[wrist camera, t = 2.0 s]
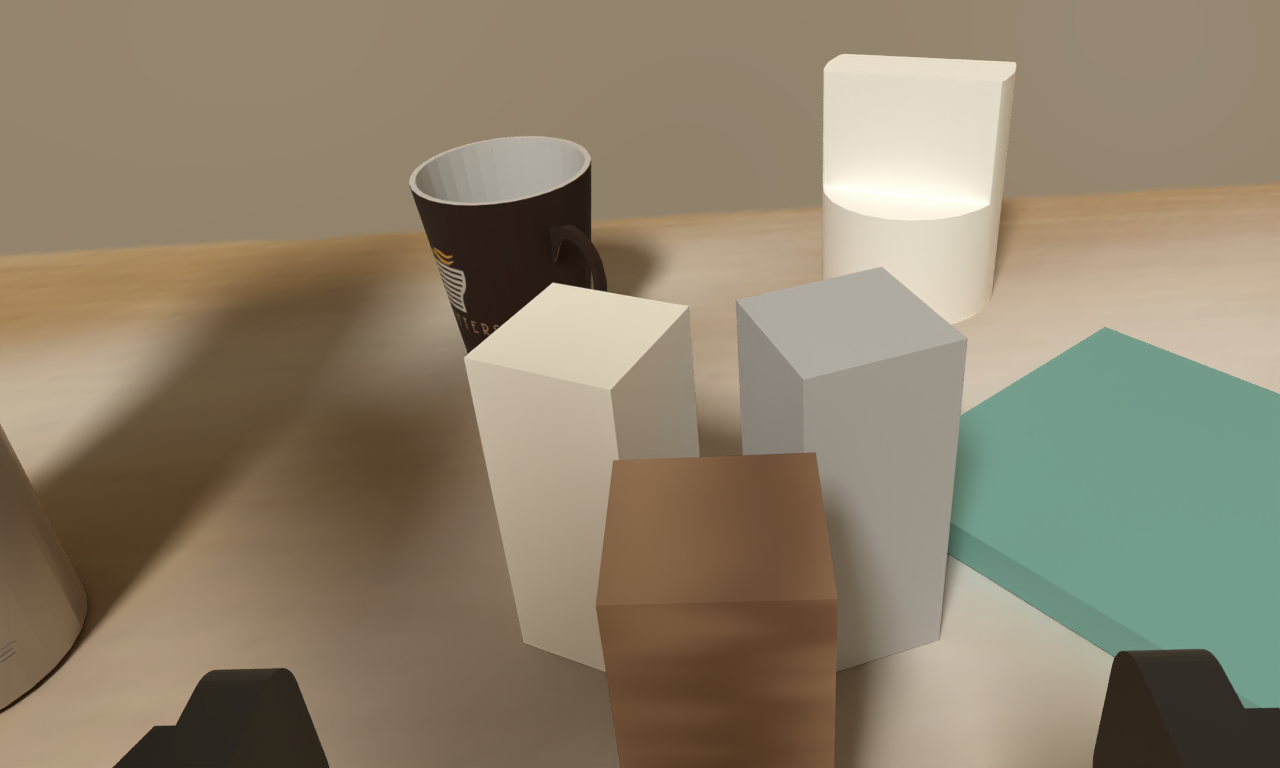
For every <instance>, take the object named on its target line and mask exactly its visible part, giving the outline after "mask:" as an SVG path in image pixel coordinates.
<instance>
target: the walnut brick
mask: <svg viewBox="0 0 1280 768" xmlns="http://www.w3.org/2000/svg"><path fill="white" fill-rule="evenodd" d="M837 605H838V598H837V592H836V585H835V578H834V571H833V565H832V558H831V551H830V544H829V538H828V531H827V524H826V517H825V511H824V504H823V497H822V490H821V484H820V477H819V470H818V463H817V457H816V452H811V453H786V454H761V455H736V456H711V457H686V458H661V459H636V460H613V465H612V473H611V482H610V490H609V498H608V507H607V515H606V523H605V532H604V540H603V548H602V557H601V565H600V573H599V581H598V590H597V598H596V612H597V618H598V625H599V631H600V637H601V644H602V650H603V657H604V663H605V670H606V676H607V683H608V689H609V696H610V702H611V709H612V715H613V721H614V728H615V734H616V741H617V747H618V754H619V760H620V767H621V768H834V765H835V712H836V659H837Z"/></svg>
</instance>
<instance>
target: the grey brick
mask: <svg viewBox="0 0 1280 768" xmlns="http://www.w3.org/2000/svg"><path fill="white" fill-rule="evenodd" d="M736 316H737V339H738V362H739V384H740V407H741V430H742V452H743V455H761V454H786V453H811V452H816V457H817V463H818V470H819V477H820V484H821V490H822V497H823V504H824V511H825V517H826V524H827V531H828V538H829V544H830V551H831V558H832V565H833V571H834V578H835V585H836V592H837V598H838V605H837V659H836V672H838V671H841V670H844V669H848V668H851V667H854V666H857V665H860V664H864V663H867V662H870V661H873V660H877V659H880V658H883V657H886V656H889V655H893V654H896V653H899V652H902V651H905V650H909V649H912V648H915V647H918V646H921V645H925V644H928V643H931V642H934V641H938V640H939V636H940V625H941V615H942V604H943V594H944V583H945V572H946V562H947V551H948V540H949V530H950V519H951V509H952V498H953V487H954V477H955V466H956V456H957V445H958V434H959V424H960V413H961V402H962V392H963V381H964V371H965V360H966V349H967V338H966V337H965V336H964V335H962V334H961V333H960V332H959V331H958V330H956V329H955V328H954V327H953V326H952V325H950V324H949V323H948V322H947V321H946V320H945V319H943V318H942V317H941V316H940V315H939V314H937V313H936V312H935V311H934V310H933V309H931V308H930V307H929V306H928V305H927V304H926V303H924V302H923V301H922V300H921V299H920V298H918V297H917V296H916V295H915V294H914V293H913V292H911V291H910V290H909V289H908V288H907V287H905V286H904V285H903V284H902V283H901V282H899V281H898V280H897V279H896V278H895V277H894V276H892V275H891V274H890V273H889V272H888V271H886V270H885V269H884V268H883V267H878V268H874V269H869V270H865V271H861V272H856V273H852V274H848V275H843V276H839V277H834V278H830V279H826V280H821V281H817V282H813V283H808V284H804V285H799V286H795V287H791V288H786V289H782V290H778V291H773V292H769V293H764V294H760V295H756V296H751V297H747V298H743V299H738V300H736Z"/></svg>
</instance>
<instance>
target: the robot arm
mask: <svg viewBox="0 0 1280 768" xmlns="http://www.w3.org/2000/svg"><path fill="white" fill-rule="evenodd" d="M86 614H87V595H86V593H85V591H84V588H83V586H82V584H81V582H80V580H79V578H78V576H77V574H76V572H75V570H74V568H73V566H72V564H71V562H70V560H69V558H68V556H67V554H66V552H65V550H64V548H63V546H62V544H61V542H60V540H59V539H58V537H57V535H56V533H55V531H54V529H53V527H52V525H51V523H50V521H49V519H48V517H47V514H46V512H45V510H44V508H43V506H42V504H41V502H40V500H39V498H38V496H37V494H36V492H35V490H34V489H33V487H32V485H31V483H30V481H29V479H28V477H27V475H26V473H25V471H24V469H23V467H22V465H21V463H20V461H19V459H18V457H17V455H16V453H15V452H14V450H13V448H12V446H11V444H10V442H9V440H8V438H7V436H6V434H5V432H4V430H3V428H2V426H1V424H0V710H1V709H2V708H4V707H6V706H7V705H9V704H10V703H12V702H13V701H14V700H16V699H17V698H19V697H20V696H21V695H23V694H24V693H26V692H27V691H28V690H30V689H31V688H33V687H34V686H35V685H36V684H37V683H38V682H39V681H40V680H41V679H43V678H44V677H45V676H46V675H47V674H48V673H49V672H50V671H51V670H52V669H54V668H55V666H56V665H57V664H58V663H59V662H60V660H61V659H62V658H63V657H64V656H65V654H66V653H67V652H68V651H69V650H70V648H71V647H72V645H73V643H74V642H75V640H76V638H77V637H78V635H79V633H80V631H81V630H82V627H83V624H84V620H85V617H86ZM113 768H329V765H328V761H327V759H326V756H325V753H324V751H323V748H322V746H321V743H320V740H319V738H318V735H317V733H316V730H315V727H314V725H313V722H312V720H311V717H310V715H309V712H308V709H307V707H306V704H305V702H304V699H303V696H302V694H301V691H300V689H299V686H298V683H297V681H296V679H295V677H294V675H293V674H292V673H291V672H290V671H289V670H288V669H285V668H273V669H232V670H212V671H210V672H208V673H207V674H206V675H204V676H203V678H202V679H201V680H200V681H199V683H198V684H197V686H196V688H195V690H194V691H193V693H192V695H191V697H190V699H189V701H188V703H187V705H186V707H185V709H184V710H183V712H182V714H181V716H180V718H179V720H178V722H177V724H176V726H154V727H153V728H152V729H151V730H150V731H149V732H148V733H147V734H146V735H145V736H144V737H143V738H142V739H141V740H140V741H139V742H138V743H137V744H136V745H135V746H134V747H133V748H132V749H131V750H130V751H129V752H128V753H127V754H126V755H125V756H124V757H123V758H122V759H121V760H120V761H119V762H118V763H117V764H116V765H115V766H114V767H113ZM1093 768H1280V708H1244V706H1243V705H1242V703H1241V701H1240V699H1239V697H1238V695H1237V693H1236V692H1235V690H1234V688H1233V686H1232V684H1231V682H1230V681H1229V679H1228V677H1227V675H1226V673H1225V671H1224V670H1223V668H1222V666H1221V664H1220V663H1219V661H1218V660H1217V659H1216V657H1215V656H1214V655H1213V654H1212V653H1211V652H1209V651H1208V650H1206V649H1172V650H1130V651H1120V652H1118V653H1117V655H1116V656H1115V658H1114V661H1113V664H1112V669H1111V673H1110V678H1109V683H1108V688H1107V692H1106V697H1105V702H1104V707H1103V711H1102V716H1101V721H1100V726H1099V730H1098V735H1097V740H1096V745H1095V749H1094V755H1093Z"/></svg>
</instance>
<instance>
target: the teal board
mask: <svg viewBox="0 0 1280 768" xmlns="http://www.w3.org/2000/svg"><path fill="white" fill-rule="evenodd" d="M947 553H949V554H950V555H952V556H953V557H955V558H957V559H958V560H960V561H961V562H963V563H965V564H966V565H968V566H970V567H971V568H973V569H974V570H976V571H978V572H979V573H981V574H982V575H984V576H986V577H987V578H989V579H990V580H992V581H994V582H995V583H997V584H998V585H1000V586H1002V587H1003V588H1005V589H1006V590H1008V591H1010V592H1011V593H1013V594H1015V595H1016V596H1018V597H1019V598H1021V599H1023V600H1024V601H1026V602H1027V603H1029V604H1031V605H1032V606H1034V607H1035V608H1037V609H1039V610H1040V611H1042V612H1043V613H1045V614H1047V615H1048V616H1050V617H1051V618H1053V619H1055V620H1056V621H1058V622H1059V623H1061V624H1063V625H1064V626H1066V627H1068V628H1069V629H1071V630H1072V631H1074V632H1076V633H1077V634H1079V635H1080V636H1082V637H1084V638H1085V639H1087V640H1088V641H1090V642H1092V643H1093V644H1095V645H1096V646H1098V647H1100V648H1101V649H1103V650H1104V651H1106V652H1108V653H1109V654H1111V655H1113V656H1114V657H1115V656H1116V655H1117V653H1118V652H1120V651H1130V650H1172V649H1206V650H1208V651H1209V652H1211V653H1212V654H1213V655H1214V656H1215V657H1216V659H1217V660H1218V661H1219V663H1220V664H1221V666H1222V668H1223V670H1224V671H1225V673H1226V675H1227V677H1228V679H1229V681H1230V682H1231V684H1232V686H1233V688H1234V690H1235V692H1236V693H1237V695H1238V697H1239V699H1240V701H1241V703H1242V705H1243V706H1244V708H1280V394H1278V393H1275V392H1273V391H1270V390H1267V389H1265V388H1262V387H1260V386H1257V385H1254V384H1252V383H1249V382H1247V381H1244V380H1241V379H1239V378H1236V377H1234V376H1231V375H1228V374H1226V373H1223V372H1221V371H1218V370H1215V369H1213V368H1210V367H1208V366H1205V365H1202V364H1200V363H1197V362H1195V361H1192V360H1189V359H1187V358H1184V357H1182V356H1179V355H1176V354H1174V353H1171V352H1169V351H1166V350H1163V349H1161V348H1158V347H1156V346H1153V345H1150V344H1148V343H1145V342H1143V341H1140V340H1137V339H1135V338H1132V337H1130V336H1127V335H1124V334H1122V333H1119V332H1117V331H1114V330H1111V329H1109V328H1106V327H1104V328H1103V329H1101V330H1099V331H1098V332H1096V333H1094V334H1093V335H1091V336H1090V337H1088V338H1086V339H1085V340H1083V341H1081V342H1080V343H1078V344H1077V345H1075V346H1073V347H1072V348H1070V349H1068V350H1067V351H1065V352H1064V353H1062V354H1060V355H1059V356H1057V357H1055V358H1054V359H1052V360H1050V361H1049V362H1047V363H1046V364H1044V365H1042V366H1041V367H1039V368H1037V369H1036V370H1034V371H1033V372H1031V373H1029V374H1028V375H1026V376H1024V377H1023V378H1021V379H1020V380H1018V381H1016V382H1015V383H1013V384H1011V385H1010V386H1008V387H1006V388H1005V389H1003V390H1002V391H1000V392H998V393H997V394H995V395H993V396H992V397H990V398H989V399H987V400H985V401H984V402H982V403H980V404H979V405H977V406H976V407H974V408H972V409H971V410H969V411H967V412H966V413H964V414H962V415H961V416H960V424H959V434H958V445H957V456H956V466H955V477H954V487H953V498H952V509H951V519H950V530H949V540H948V551H947Z"/></svg>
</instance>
